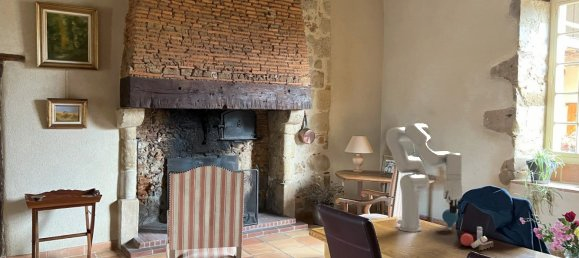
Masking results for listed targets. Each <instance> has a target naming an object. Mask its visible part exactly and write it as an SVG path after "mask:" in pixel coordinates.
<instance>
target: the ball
mask: <svg viewBox="0 0 579 258" xmlns="http://www.w3.org/2000/svg"><path fill="white" fill-rule="evenodd" d="M473 242H475V241H474V237H473V235H471V234H469V233H463V234H462V235H461V236H460V243H461V244H462V245H464V246H465V247H469V246H471V244H472V243H473Z"/></svg>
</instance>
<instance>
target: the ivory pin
mask: <svg viewBox="0 0 579 258" xmlns="http://www.w3.org/2000/svg"><path fill="white" fill-rule="evenodd" d="M487 242H488V238H487V237H486V236H485V235H484V236H483V235H482V237H481V238H480V239H478V240H477V239H476V240H475V241H473V243H472V244H471V245H470V246H471V247H472V248H473V249H475V248H477V247H479V245H480V244H484V243H487Z"/></svg>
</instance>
